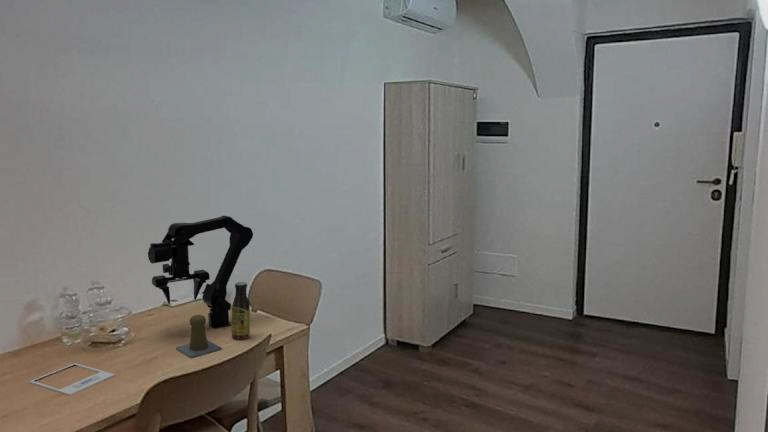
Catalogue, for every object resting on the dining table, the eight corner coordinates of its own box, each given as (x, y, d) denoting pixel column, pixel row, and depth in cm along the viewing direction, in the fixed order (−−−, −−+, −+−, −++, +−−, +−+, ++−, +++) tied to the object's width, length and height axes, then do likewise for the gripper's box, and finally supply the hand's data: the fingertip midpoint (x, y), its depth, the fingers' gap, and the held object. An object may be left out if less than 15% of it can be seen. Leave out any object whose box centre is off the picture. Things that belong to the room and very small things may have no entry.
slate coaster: (205, 340, 203) (205, 339, 203) (221, 349, 195) (221, 347, 195) (175, 348, 195) (175, 347, 195) (191, 358, 188) (191, 356, 187)
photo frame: (70, 393, 161) (29, 380, 169) (70, 397, 161) (29, 384, 169) (115, 373, 174) (74, 362, 182) (115, 377, 174) (75, 365, 182)
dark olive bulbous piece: (211, 344, 198) (209, 313, 196) (203, 351, 192) (202, 319, 190) (194, 343, 198) (192, 312, 197) (186, 350, 193) (184, 318, 191)
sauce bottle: (228, 338, 205) (226, 284, 202) (238, 333, 211) (237, 279, 208) (243, 341, 203) (242, 286, 200) (254, 335, 208) (252, 281, 205)
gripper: (198, 251, 217) (200, 292, 220) (146, 258, 206) (149, 300, 209) (209, 257, 208) (210, 299, 211) (155, 264, 197) (157, 308, 200)
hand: (182, 301), depth 208 cm, fingers open, 9 cm apart
